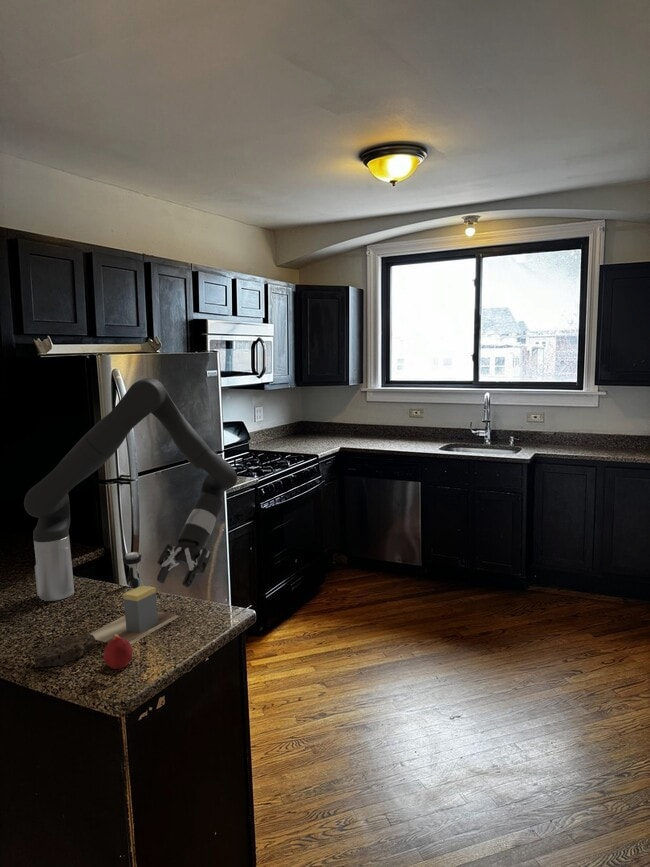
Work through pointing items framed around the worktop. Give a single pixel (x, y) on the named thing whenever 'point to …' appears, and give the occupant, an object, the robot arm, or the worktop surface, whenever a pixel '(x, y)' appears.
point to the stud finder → (140, 609)
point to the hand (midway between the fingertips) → (172, 584)
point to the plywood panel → (120, 630)
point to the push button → (132, 568)
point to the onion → (118, 653)
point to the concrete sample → (65, 650)
